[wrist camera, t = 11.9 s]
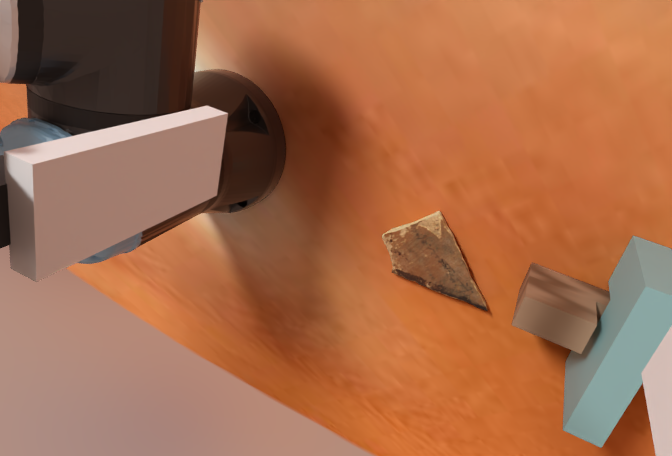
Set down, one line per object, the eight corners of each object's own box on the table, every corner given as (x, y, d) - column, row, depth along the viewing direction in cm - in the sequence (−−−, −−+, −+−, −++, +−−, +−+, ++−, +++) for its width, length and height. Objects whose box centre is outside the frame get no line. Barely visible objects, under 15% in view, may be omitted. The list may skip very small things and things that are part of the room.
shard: (490, 304, 52) (487, 312, 51) (422, 321, 56) (417, 330, 55) (445, 207, 51) (440, 212, 49) (378, 231, 55) (372, 238, 53)
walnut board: (519, 288, 50) (511, 325, 44) (531, 262, 49) (525, 296, 43) (701, 361, 46) (720, 412, 40) (720, 334, 45) (742, 382, 39)
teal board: (597, 374, 50) (601, 447, 41) (565, 361, 51) (562, 430, 42) (670, 248, 44) (693, 303, 35) (633, 235, 45) (645, 286, 36)
